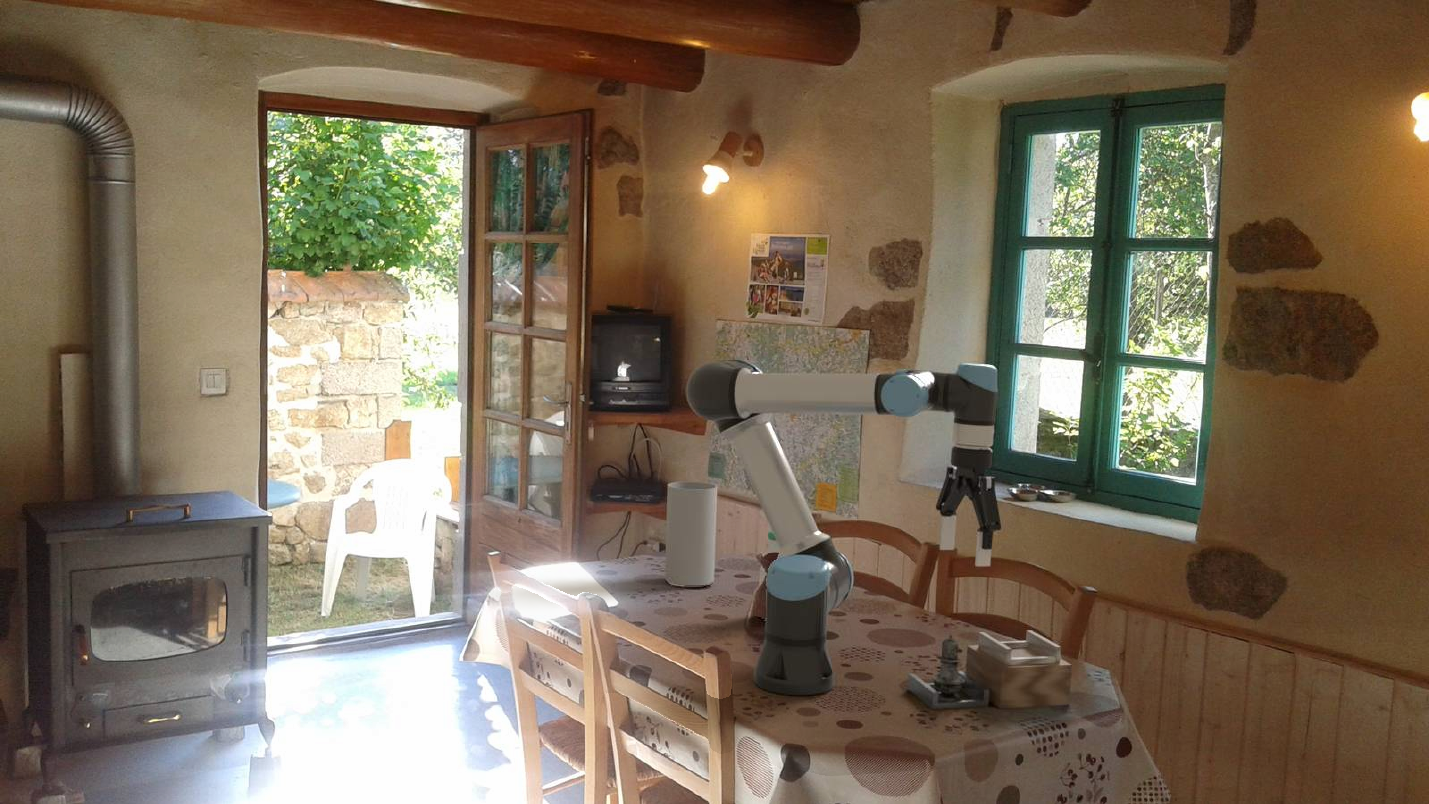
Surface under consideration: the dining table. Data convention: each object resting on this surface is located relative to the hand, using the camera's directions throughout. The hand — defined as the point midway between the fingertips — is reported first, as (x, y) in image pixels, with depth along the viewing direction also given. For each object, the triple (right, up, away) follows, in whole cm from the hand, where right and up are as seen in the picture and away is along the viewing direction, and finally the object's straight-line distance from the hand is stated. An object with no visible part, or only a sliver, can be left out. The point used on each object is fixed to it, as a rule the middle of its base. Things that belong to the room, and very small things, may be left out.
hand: (964, 557), depth 226 cm
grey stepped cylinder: (-4, -26, -5) cm, 26 cm away
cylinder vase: (-54, -17, +77) cm, 95 cm away
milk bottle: (-33, -20, +46) cm, 61 cm away
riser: (+9, -25, -1) cm, 27 cm away
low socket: (-4, -25, -5) cm, 26 cm away
